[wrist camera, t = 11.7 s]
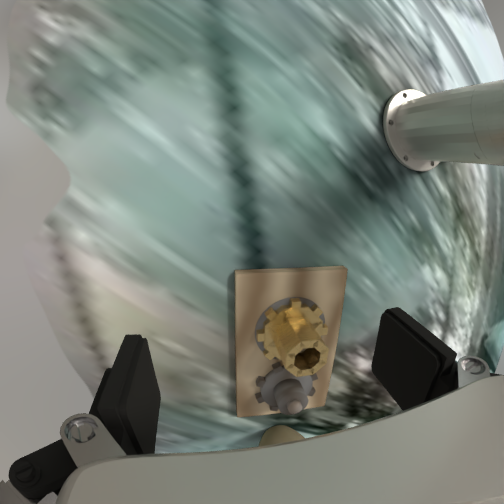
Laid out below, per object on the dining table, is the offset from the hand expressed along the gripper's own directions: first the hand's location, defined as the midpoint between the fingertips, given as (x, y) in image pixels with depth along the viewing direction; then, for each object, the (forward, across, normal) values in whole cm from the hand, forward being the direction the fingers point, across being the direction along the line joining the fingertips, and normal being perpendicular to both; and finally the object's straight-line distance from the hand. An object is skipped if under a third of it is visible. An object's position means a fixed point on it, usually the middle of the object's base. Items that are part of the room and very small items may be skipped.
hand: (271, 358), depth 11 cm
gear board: (+27, -8, +18) cm, 34 cm away
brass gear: (+25, -8, +14) cm, 30 cm away
